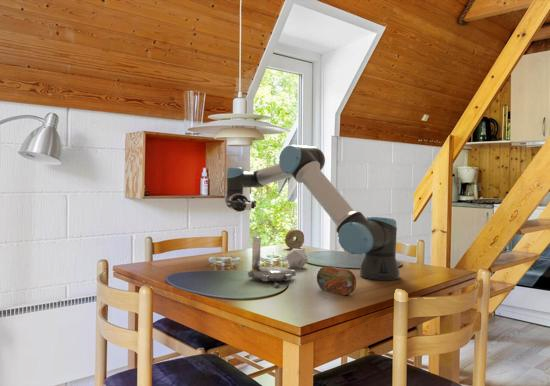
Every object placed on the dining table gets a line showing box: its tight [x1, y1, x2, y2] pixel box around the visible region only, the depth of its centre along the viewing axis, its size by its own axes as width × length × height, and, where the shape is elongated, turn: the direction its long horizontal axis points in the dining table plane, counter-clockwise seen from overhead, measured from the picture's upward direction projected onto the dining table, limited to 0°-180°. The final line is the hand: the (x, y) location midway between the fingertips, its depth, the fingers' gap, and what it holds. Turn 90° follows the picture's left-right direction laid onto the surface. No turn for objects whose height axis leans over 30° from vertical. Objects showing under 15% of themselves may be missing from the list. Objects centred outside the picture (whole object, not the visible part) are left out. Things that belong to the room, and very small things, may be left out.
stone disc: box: [284, 229, 305, 250], centre depth 252 cm, size 10×4×10 cm, turn 114°
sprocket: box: [247, 236, 297, 282], centre depth 179 cm, size 18×16×14 cm
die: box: [285, 248, 309, 270], centre depth 203 cm, size 8×9×10 cm
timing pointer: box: [273, 281, 280, 288], centre depth 169 cm, size 4×1×1 cm, turn 9°
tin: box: [316, 266, 357, 296], centre depth 162 cm, size 15×3×8 cm, turn 44°
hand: (249, 206), depth 193 cm, fingers closed
